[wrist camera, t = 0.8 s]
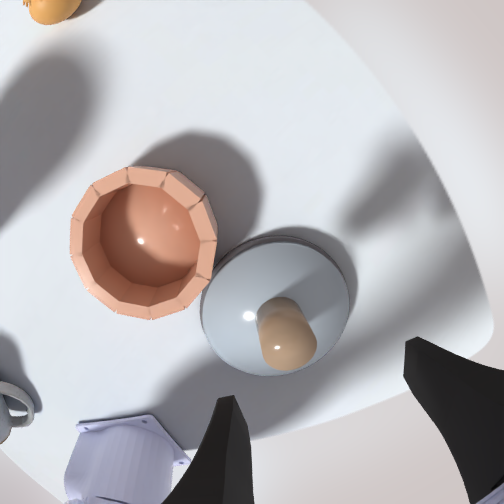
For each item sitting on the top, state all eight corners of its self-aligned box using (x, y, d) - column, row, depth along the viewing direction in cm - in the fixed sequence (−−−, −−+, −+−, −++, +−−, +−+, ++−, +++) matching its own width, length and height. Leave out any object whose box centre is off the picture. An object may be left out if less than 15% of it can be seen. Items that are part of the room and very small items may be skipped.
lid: (233, 384, 21) (236, 425, 17) (179, 272, 18) (167, 302, 14) (354, 341, 21) (378, 375, 17) (327, 219, 18) (355, 236, 14)
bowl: (125, 306, 19) (109, 333, 16) (77, 198, 17) (50, 206, 13) (234, 269, 19) (237, 291, 16) (189, 147, 17) (181, 143, 13)
